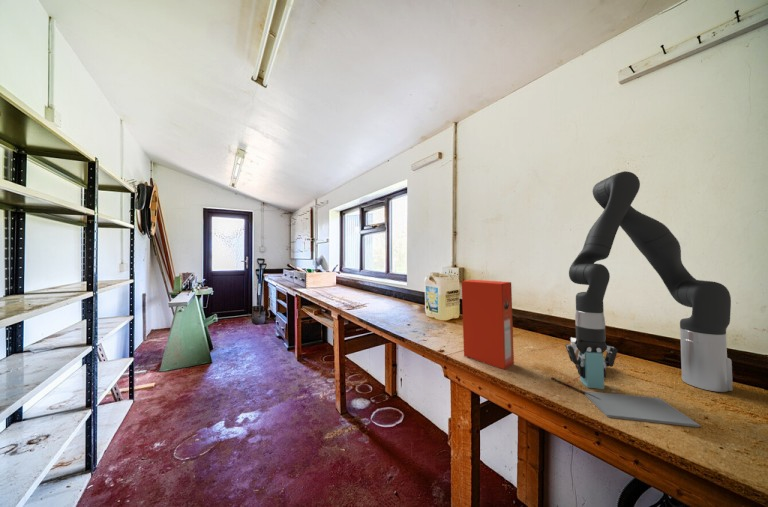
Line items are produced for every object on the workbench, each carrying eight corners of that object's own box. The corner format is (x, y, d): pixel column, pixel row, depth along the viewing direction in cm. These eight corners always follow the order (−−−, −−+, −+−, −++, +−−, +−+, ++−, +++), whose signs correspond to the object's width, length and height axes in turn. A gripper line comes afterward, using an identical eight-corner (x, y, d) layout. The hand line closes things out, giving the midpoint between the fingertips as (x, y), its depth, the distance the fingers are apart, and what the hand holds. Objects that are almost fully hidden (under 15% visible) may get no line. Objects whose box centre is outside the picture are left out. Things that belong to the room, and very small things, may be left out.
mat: (659, 400, 74) (659, 398, 74) (699, 427, 62) (699, 424, 62) (583, 393, 78) (583, 391, 78) (607, 417, 67) (606, 414, 67)
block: (596, 382, 84) (595, 348, 85) (604, 389, 80) (603, 353, 80) (580, 380, 85) (579, 347, 86) (587, 387, 81) (586, 352, 81)
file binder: (503, 370, 95) (501, 283, 95) (463, 356, 108) (461, 280, 109) (513, 364, 100) (511, 282, 100) (474, 351, 113) (472, 279, 114)
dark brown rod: (602, 403, 73) (602, 399, 73) (601, 403, 73) (601, 400, 73) (551, 379, 87) (551, 376, 87) (551, 380, 87) (550, 377, 87)
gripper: (608, 322, 85) (610, 374, 85) (559, 321, 88) (561, 370, 88) (623, 329, 78) (625, 385, 77) (570, 327, 81) (571, 381, 81)
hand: (591, 377), depth 83 cm, fingers closed on block, 4 cm apart
